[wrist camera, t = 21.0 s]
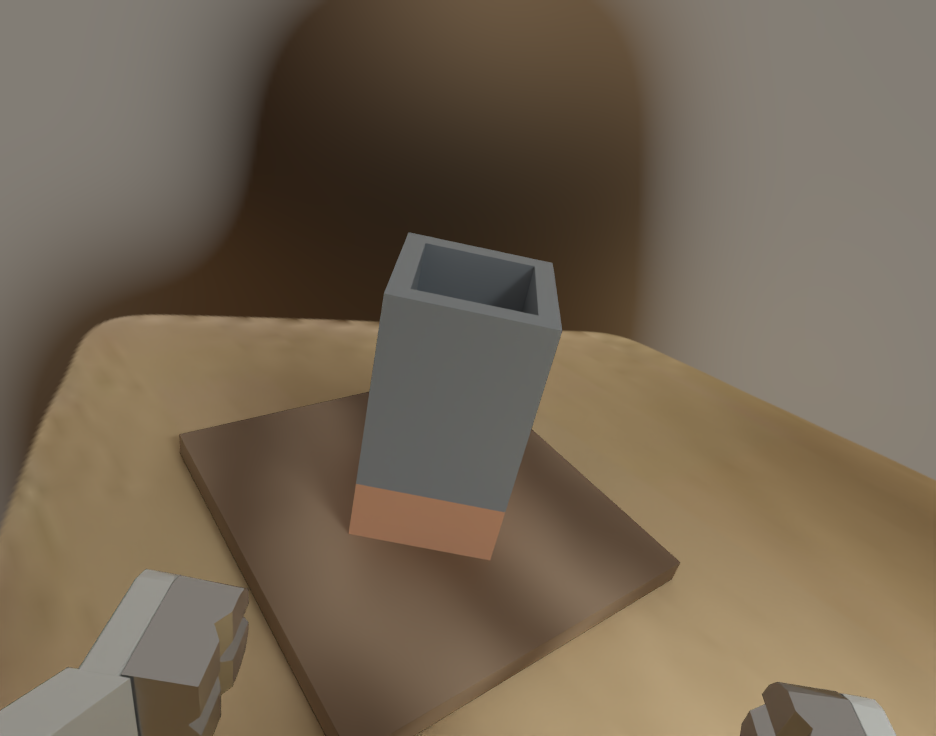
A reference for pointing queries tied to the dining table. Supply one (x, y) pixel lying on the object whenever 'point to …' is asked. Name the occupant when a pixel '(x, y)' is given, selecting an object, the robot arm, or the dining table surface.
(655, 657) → the dining table surface
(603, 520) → the pin board
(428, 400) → the sleeve
